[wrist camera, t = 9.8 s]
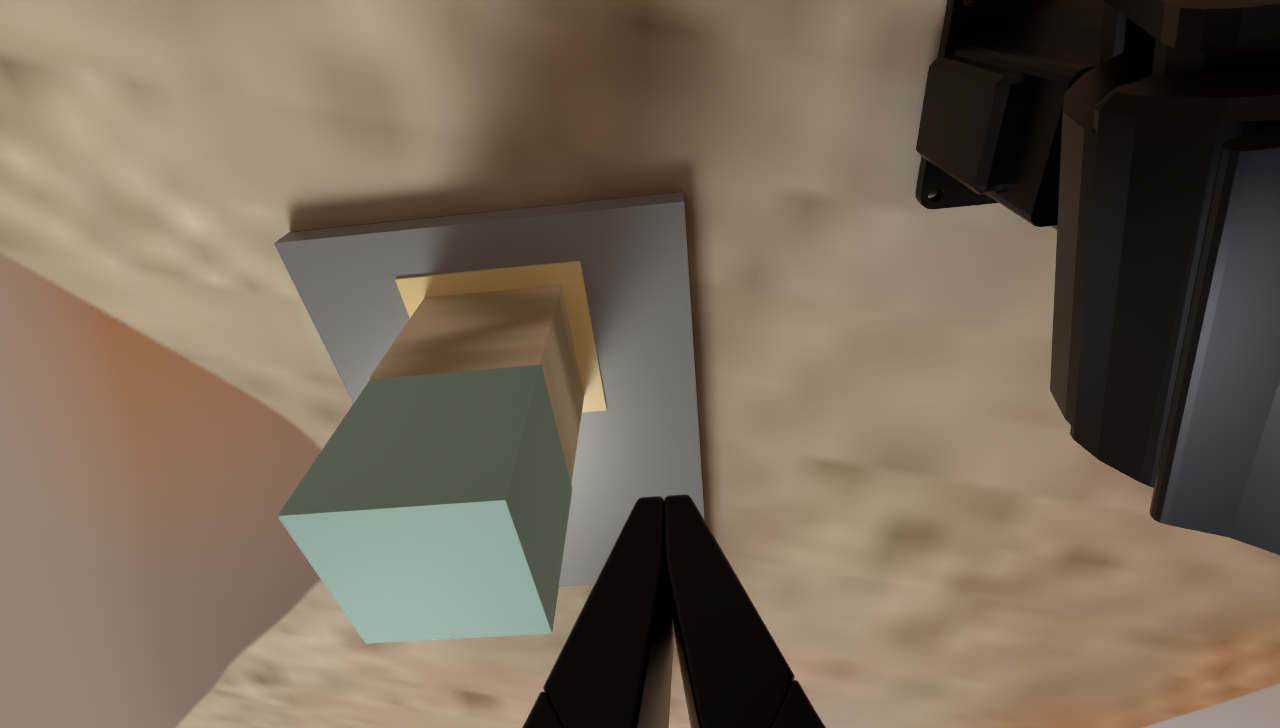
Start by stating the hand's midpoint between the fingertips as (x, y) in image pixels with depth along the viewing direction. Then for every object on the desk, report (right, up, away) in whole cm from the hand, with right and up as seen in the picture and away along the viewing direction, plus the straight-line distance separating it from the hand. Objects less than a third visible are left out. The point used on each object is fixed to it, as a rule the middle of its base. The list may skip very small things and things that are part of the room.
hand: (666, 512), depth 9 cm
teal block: (-5, 0, +8) cm, 10 cm away
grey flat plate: (-5, -1, +16) cm, 17 cm away
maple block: (-5, +3, +12) cm, 14 cm away
